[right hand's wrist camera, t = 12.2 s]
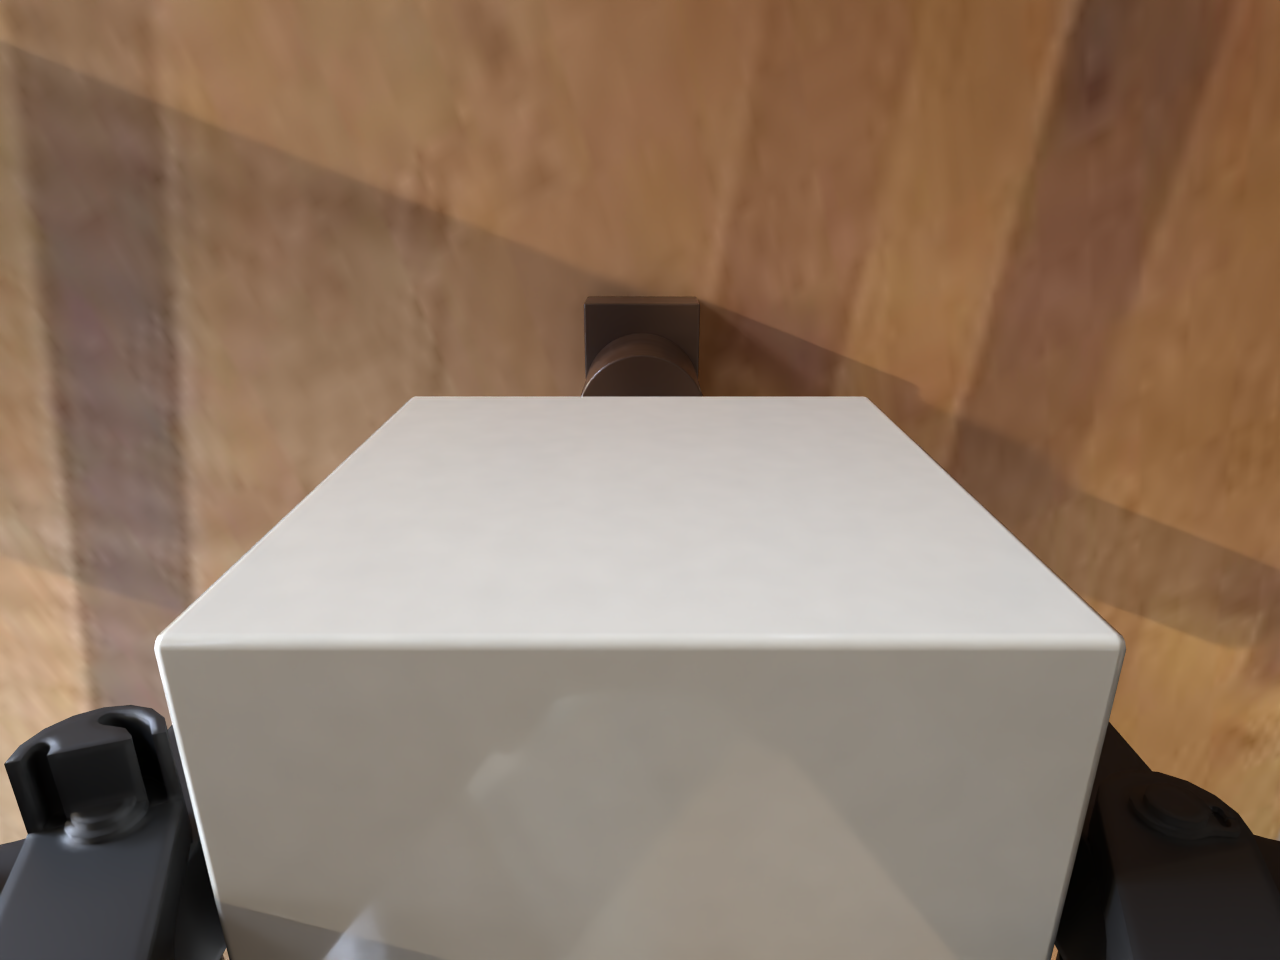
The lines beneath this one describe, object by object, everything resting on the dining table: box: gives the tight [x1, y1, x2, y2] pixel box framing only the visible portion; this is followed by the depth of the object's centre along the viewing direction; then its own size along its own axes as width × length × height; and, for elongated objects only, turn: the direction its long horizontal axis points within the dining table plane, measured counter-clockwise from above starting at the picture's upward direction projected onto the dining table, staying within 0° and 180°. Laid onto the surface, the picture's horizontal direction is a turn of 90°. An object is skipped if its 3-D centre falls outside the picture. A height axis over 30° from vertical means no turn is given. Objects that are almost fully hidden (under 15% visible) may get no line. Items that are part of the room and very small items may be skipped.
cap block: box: [154, 397, 1126, 960], centre depth 10 cm, size 7×7×7 cm
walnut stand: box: [581, 297, 703, 397], centre depth 32 cm, size 5×36×8 cm, turn 0°
